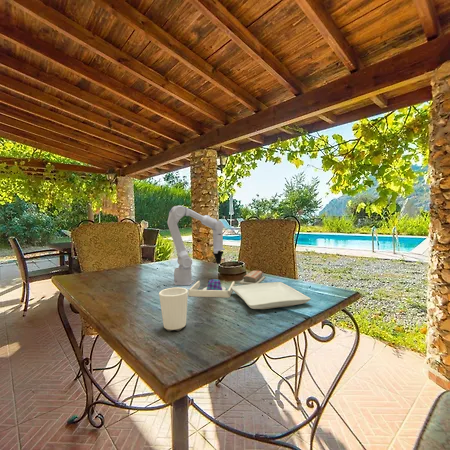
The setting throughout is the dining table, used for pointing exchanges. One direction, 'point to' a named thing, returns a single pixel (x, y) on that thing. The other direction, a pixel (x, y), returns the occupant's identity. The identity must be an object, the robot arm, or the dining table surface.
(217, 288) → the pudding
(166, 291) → the cup
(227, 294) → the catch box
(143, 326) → the dining table surface
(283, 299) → the square plate
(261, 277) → the packaged product
